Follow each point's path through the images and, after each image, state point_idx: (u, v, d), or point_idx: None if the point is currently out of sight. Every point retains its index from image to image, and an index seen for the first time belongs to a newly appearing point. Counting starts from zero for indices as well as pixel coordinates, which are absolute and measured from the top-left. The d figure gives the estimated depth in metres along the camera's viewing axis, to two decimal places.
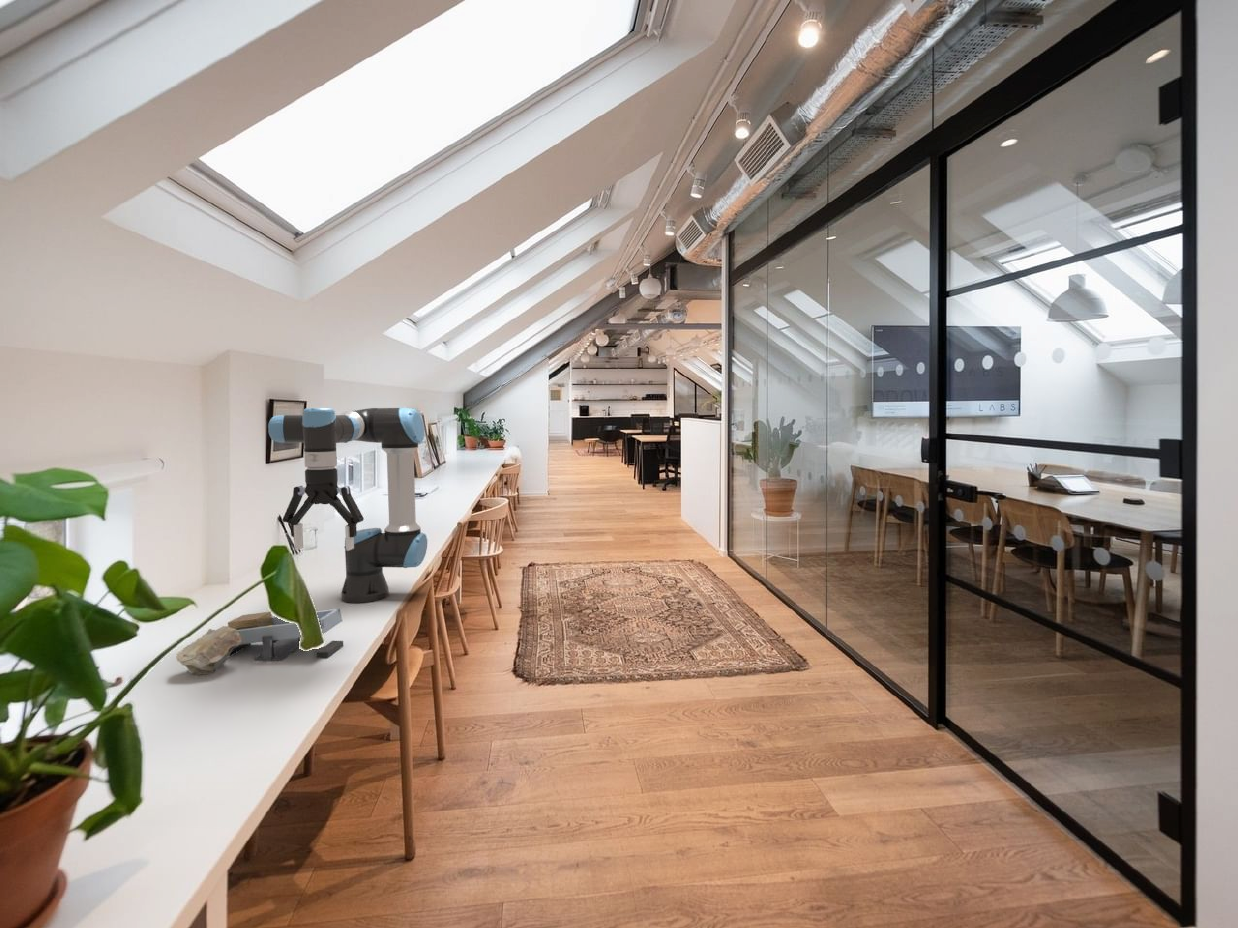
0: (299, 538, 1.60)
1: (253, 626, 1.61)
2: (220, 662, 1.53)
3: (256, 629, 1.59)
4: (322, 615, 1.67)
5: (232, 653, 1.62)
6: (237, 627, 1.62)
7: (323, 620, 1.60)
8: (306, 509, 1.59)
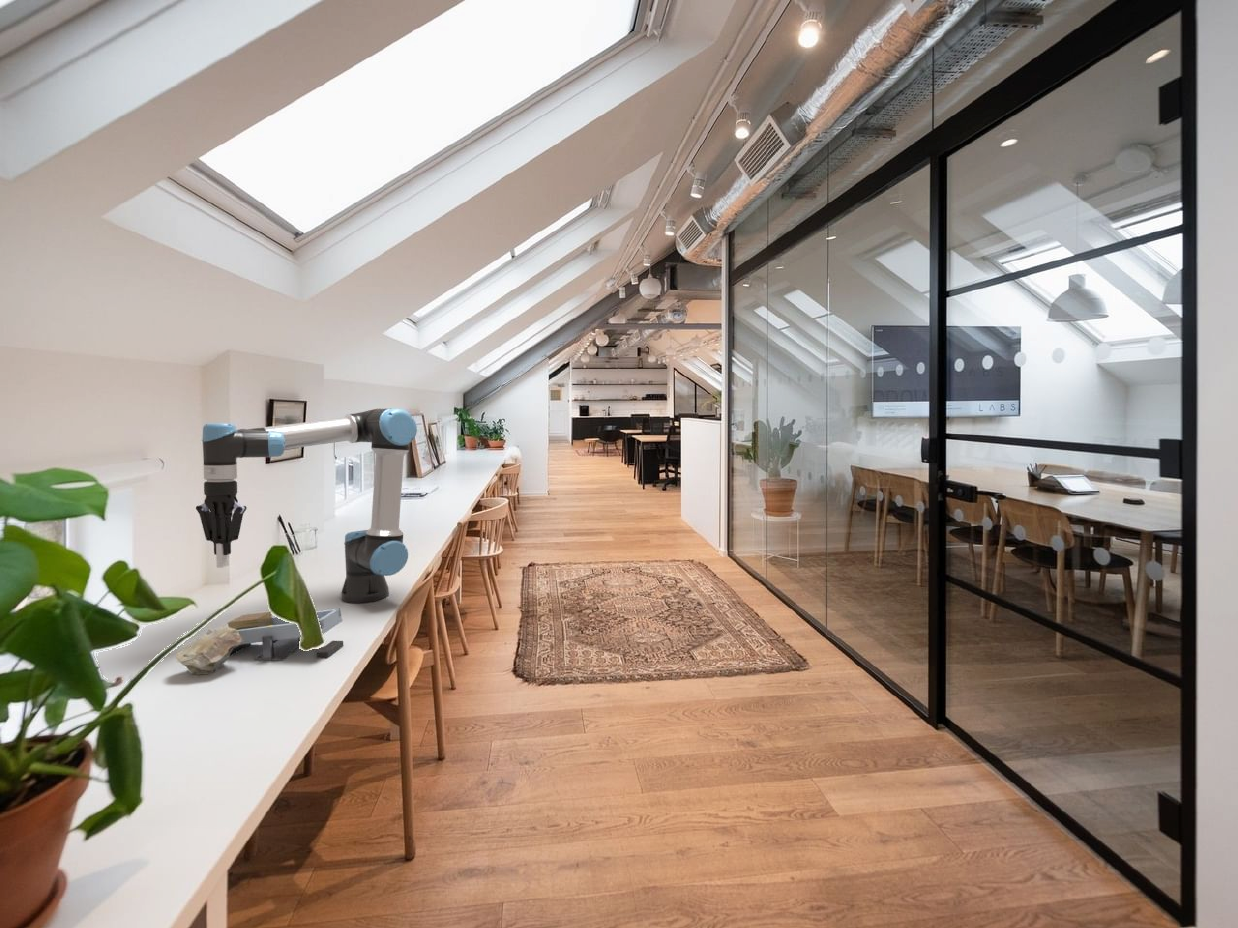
0: None
1: (253, 626, 1.61)
2: (220, 662, 1.53)
3: (256, 629, 1.59)
4: (322, 615, 1.67)
5: (232, 653, 1.62)
6: (237, 627, 1.62)
7: (323, 620, 1.60)
8: (218, 523, 1.67)
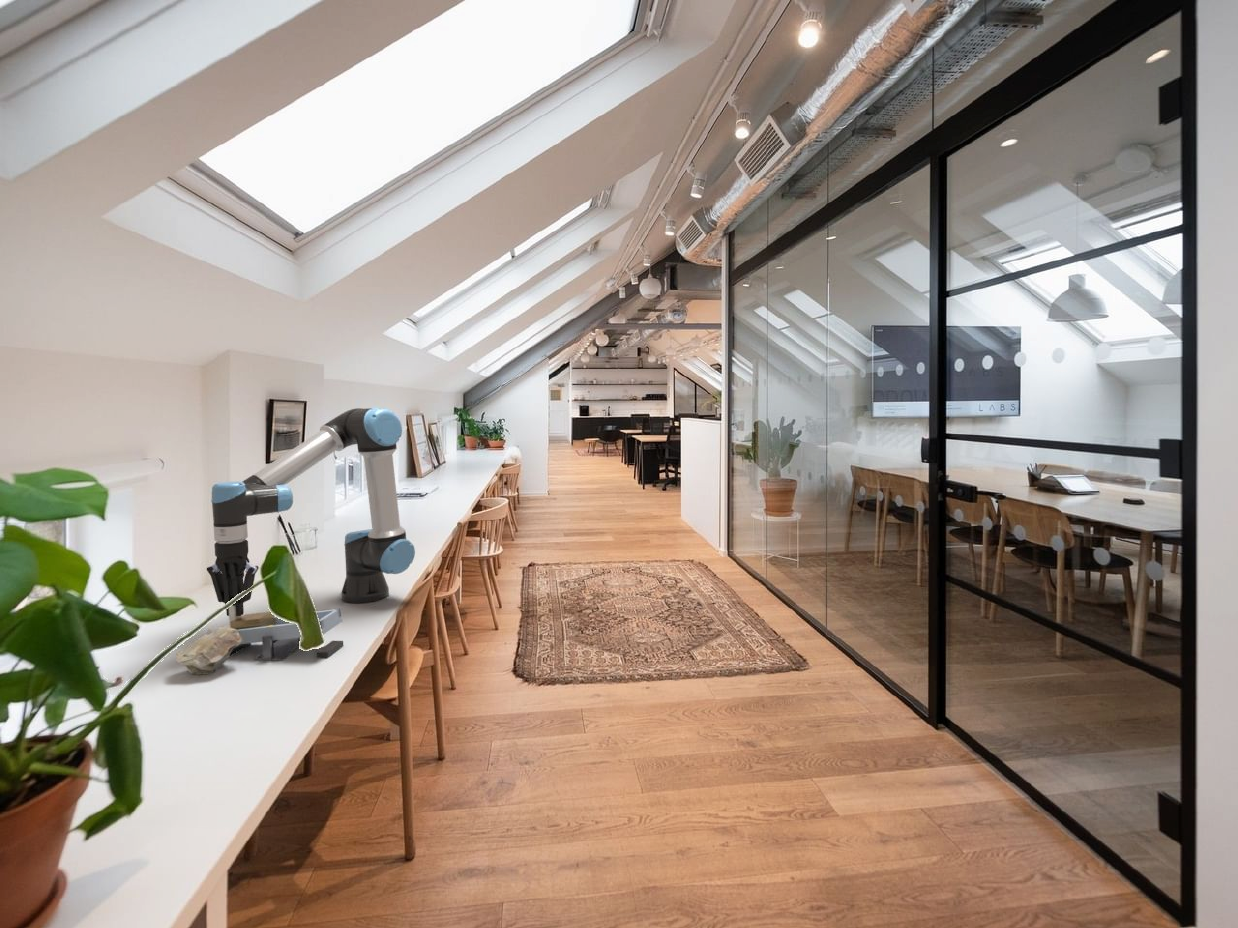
0: None
1: (255, 626, 1.61)
2: (220, 662, 1.53)
3: (256, 629, 1.59)
4: (322, 615, 1.67)
5: (232, 653, 1.62)
6: (239, 627, 1.62)
7: (323, 620, 1.60)
8: (230, 583, 1.64)
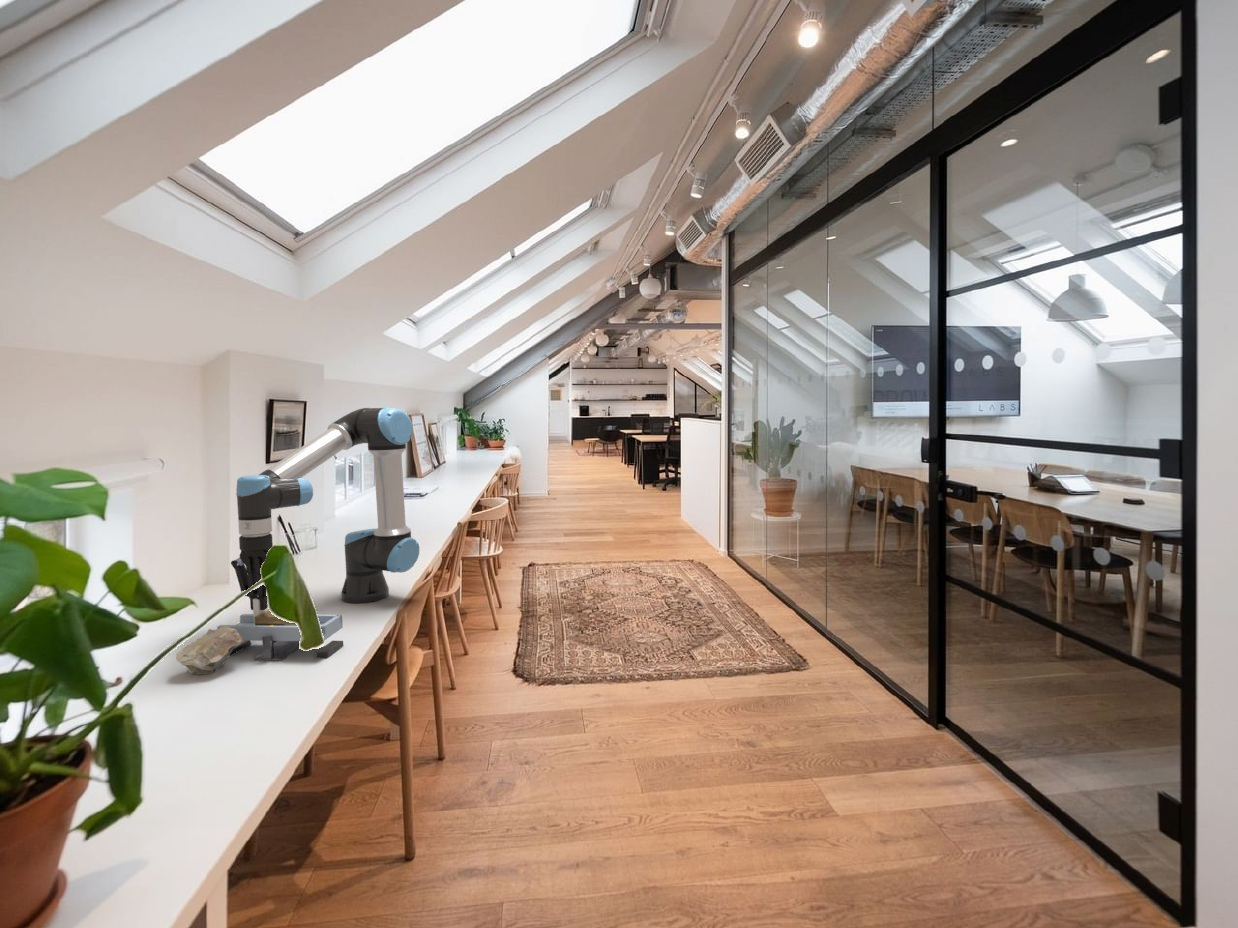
0: None
1: (279, 624, 1.61)
2: (220, 662, 1.53)
3: (257, 627, 1.59)
4: (323, 619, 1.67)
5: (232, 653, 1.62)
6: (263, 623, 1.61)
7: (325, 627, 1.60)
8: (254, 577, 1.63)
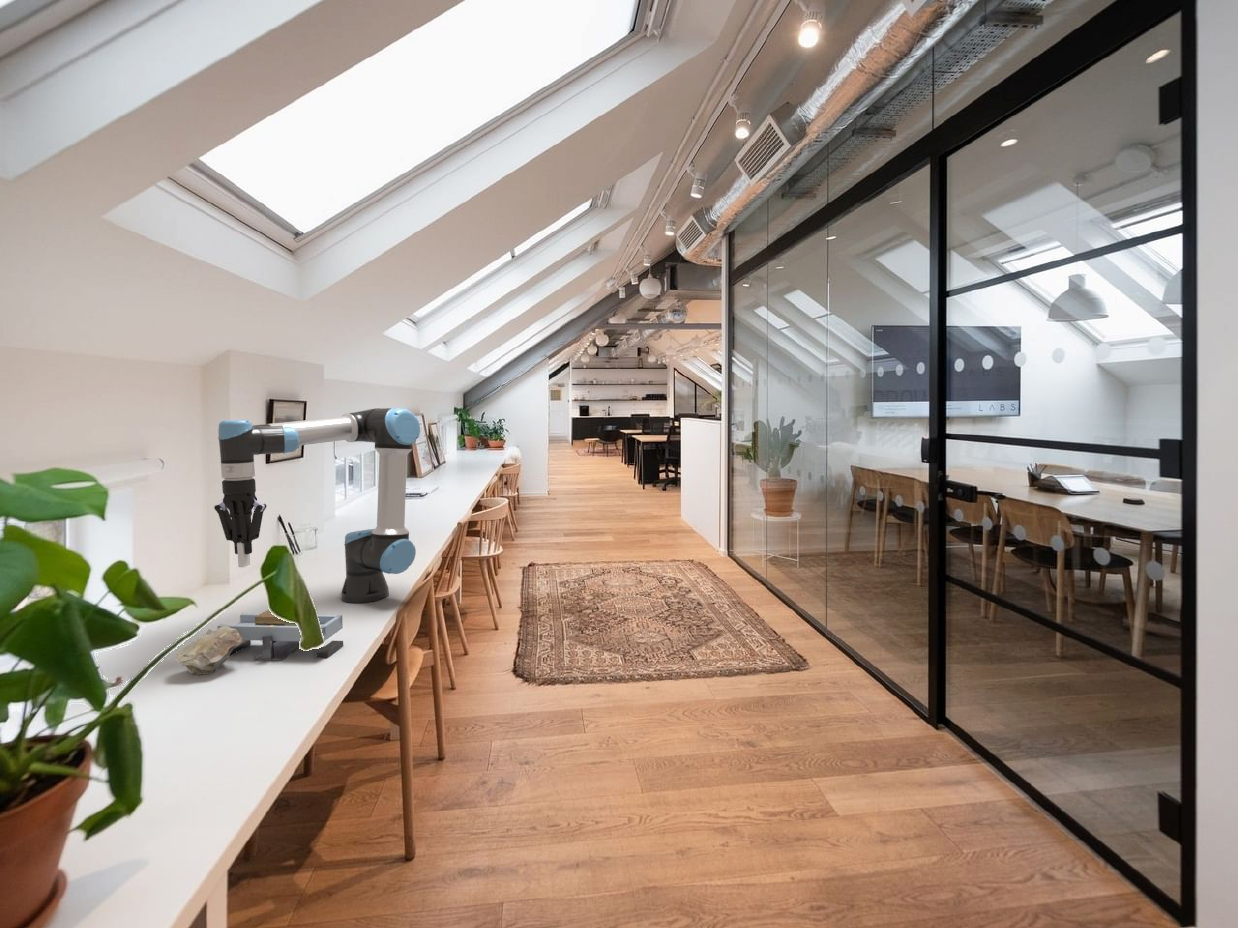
0: None
1: (279, 624, 1.61)
2: (220, 662, 1.53)
3: (257, 627, 1.59)
4: (323, 620, 1.67)
5: (232, 653, 1.62)
6: (263, 623, 1.61)
7: (325, 627, 1.60)
8: (238, 522, 1.64)
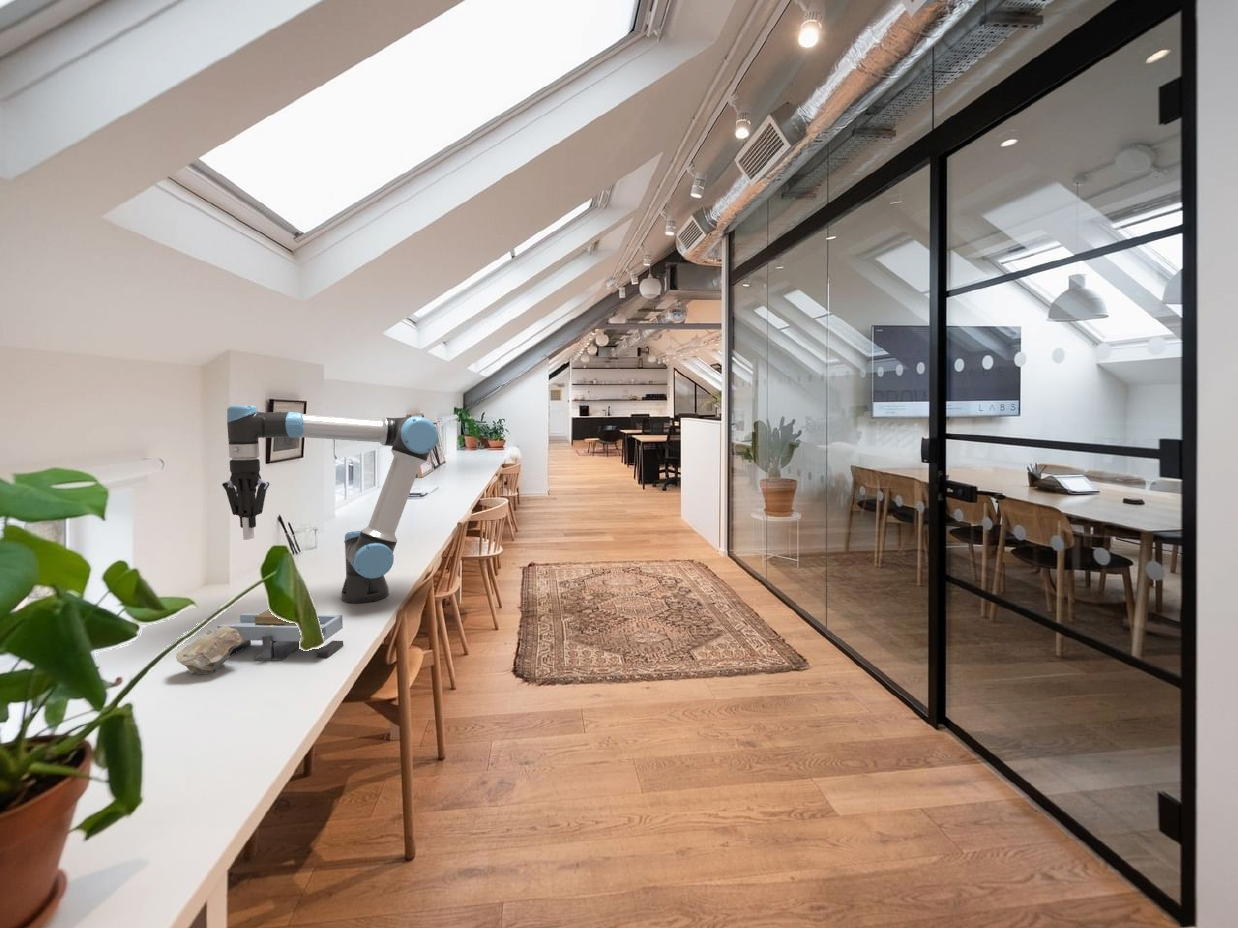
0: None
1: (279, 624, 1.61)
2: (220, 662, 1.53)
3: (257, 627, 1.59)
4: (323, 620, 1.67)
5: (232, 653, 1.62)
6: (263, 623, 1.61)
7: (325, 627, 1.60)
8: (243, 498, 1.80)
